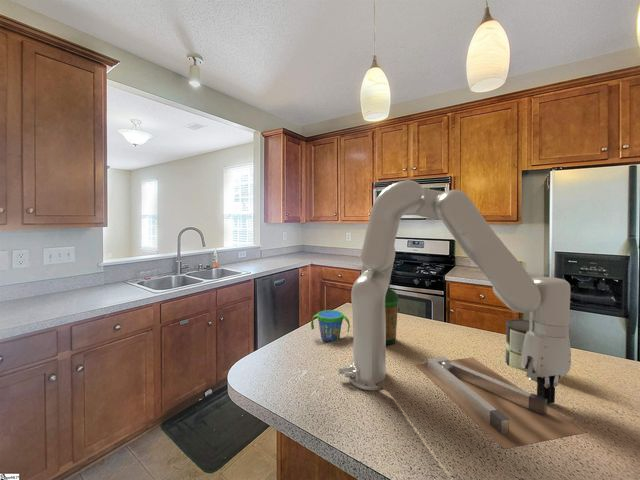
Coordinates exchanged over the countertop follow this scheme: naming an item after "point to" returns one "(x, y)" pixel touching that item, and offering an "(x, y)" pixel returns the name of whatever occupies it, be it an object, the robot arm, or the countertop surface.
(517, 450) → the countertop surface
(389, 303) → the bottle
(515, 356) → the coffee can
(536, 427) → the walnut board
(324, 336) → the snack cup
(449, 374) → the tongs fixed arm
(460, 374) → the tongs arm
